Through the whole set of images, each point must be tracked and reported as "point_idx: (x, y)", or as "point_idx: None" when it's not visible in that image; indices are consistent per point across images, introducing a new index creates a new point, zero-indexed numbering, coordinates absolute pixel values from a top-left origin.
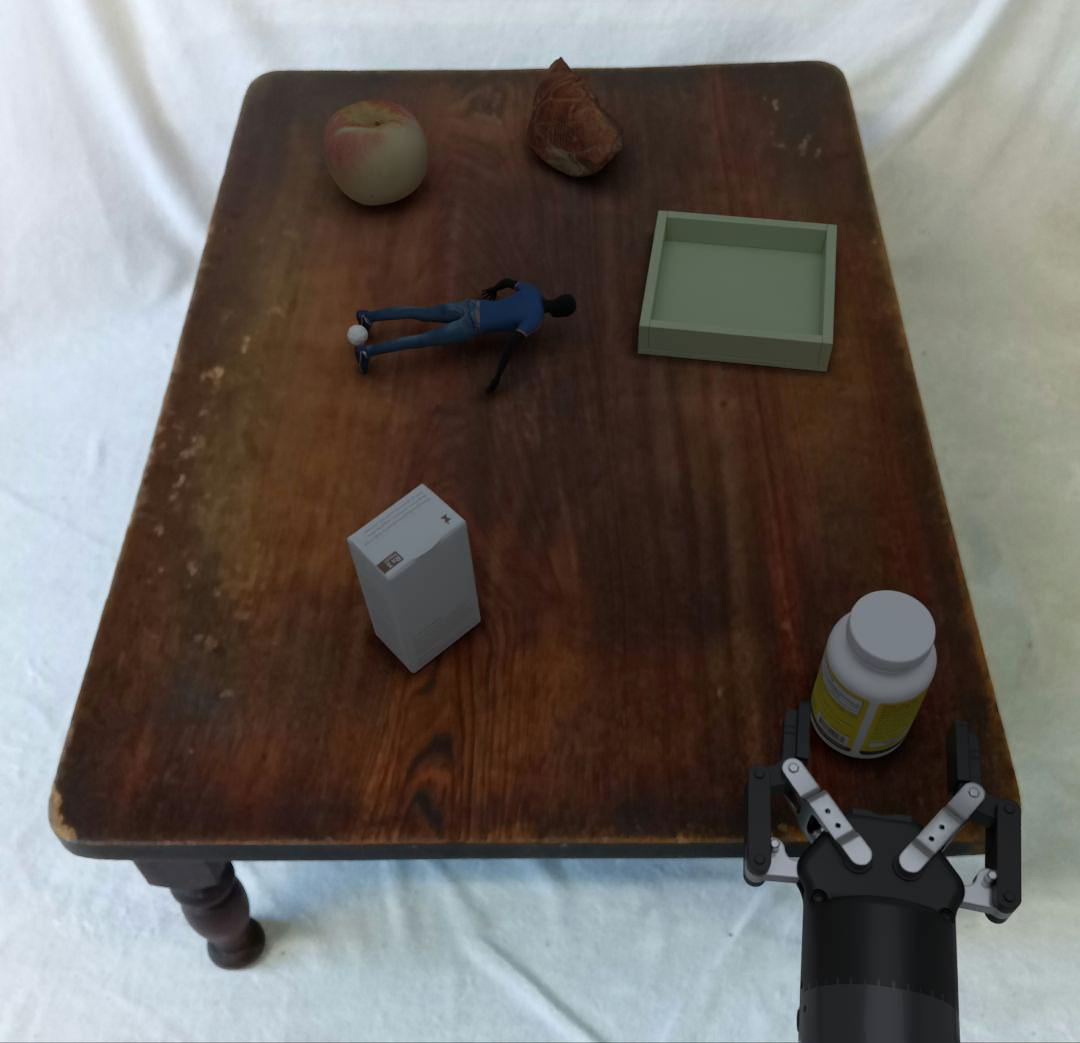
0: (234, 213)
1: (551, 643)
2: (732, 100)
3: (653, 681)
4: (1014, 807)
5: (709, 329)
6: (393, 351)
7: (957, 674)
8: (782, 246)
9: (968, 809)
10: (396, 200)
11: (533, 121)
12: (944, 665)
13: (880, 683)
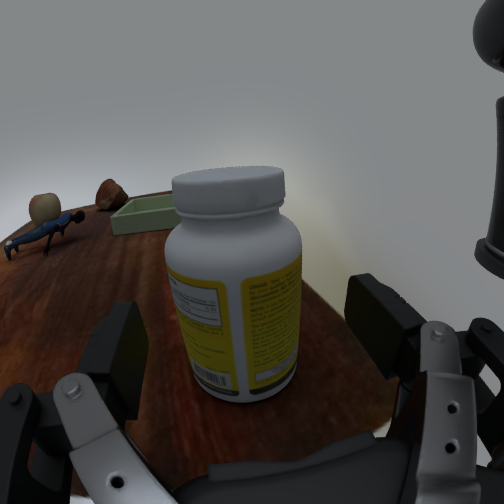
0: (7, 238)
1: (13, 345)
2: (169, 193)
3: (62, 365)
4: (489, 321)
5: (141, 212)
6: (16, 245)
7: (319, 314)
8: None
9: (452, 358)
10: (47, 221)
11: (96, 195)
12: (307, 312)
13: (230, 244)
